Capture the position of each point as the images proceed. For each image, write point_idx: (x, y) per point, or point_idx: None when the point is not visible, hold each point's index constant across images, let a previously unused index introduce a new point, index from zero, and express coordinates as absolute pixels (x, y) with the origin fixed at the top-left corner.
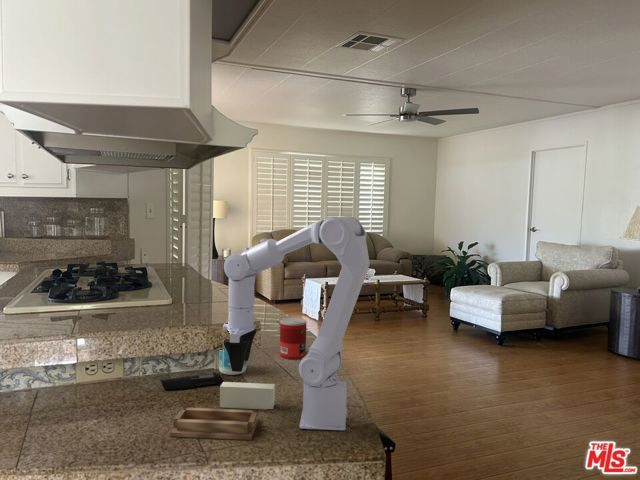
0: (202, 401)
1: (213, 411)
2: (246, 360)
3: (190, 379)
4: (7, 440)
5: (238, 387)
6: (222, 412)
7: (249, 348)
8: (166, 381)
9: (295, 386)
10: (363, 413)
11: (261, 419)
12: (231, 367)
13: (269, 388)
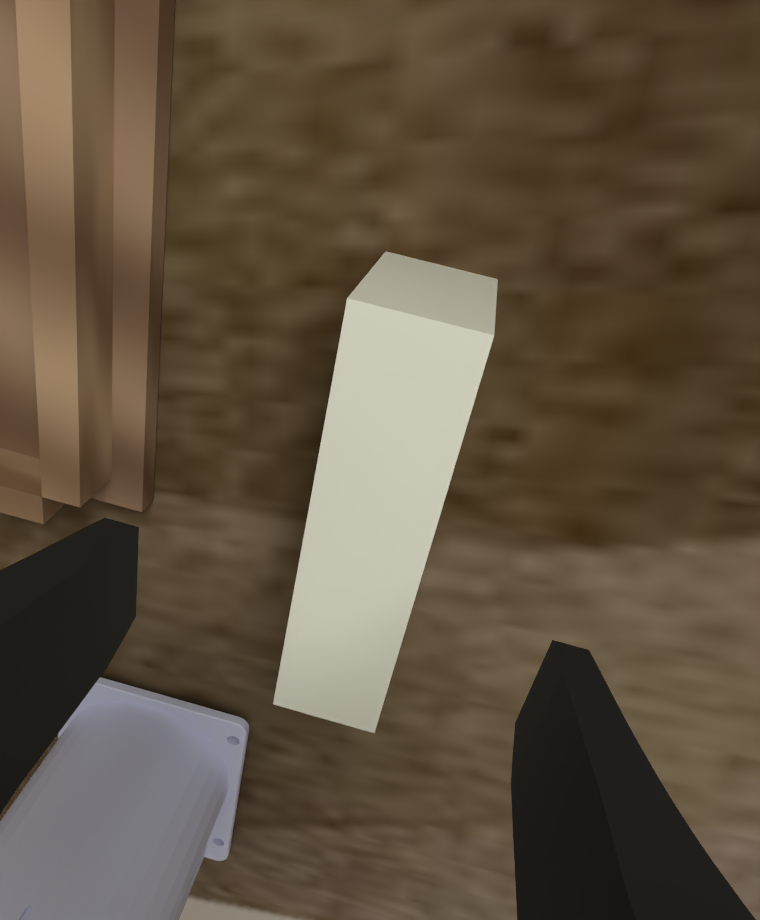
0: (555, 72)
1: (27, 215)
2: (520, 717)
3: None
4: None
5: (316, 473)
6: (37, 290)
7: (525, 910)
8: None
9: (694, 784)
10: (252, 906)
11: (171, 517)
12: (65, 538)
13: (279, 685)
